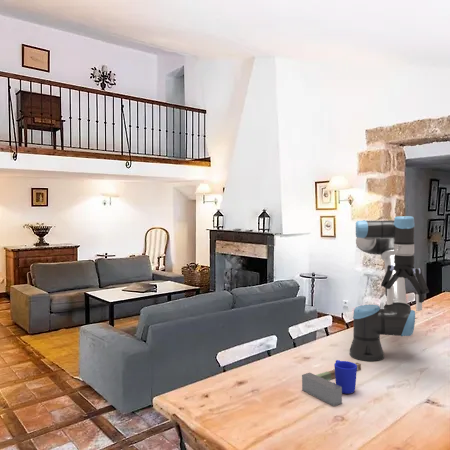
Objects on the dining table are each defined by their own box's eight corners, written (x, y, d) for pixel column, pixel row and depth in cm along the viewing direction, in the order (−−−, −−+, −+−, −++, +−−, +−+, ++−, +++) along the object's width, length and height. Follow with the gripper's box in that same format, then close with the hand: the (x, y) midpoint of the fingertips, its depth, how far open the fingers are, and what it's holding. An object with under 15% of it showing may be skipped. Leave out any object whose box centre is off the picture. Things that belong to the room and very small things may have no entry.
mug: (347, 381, 170) (347, 356, 169) (360, 394, 158) (360, 368, 157) (327, 383, 169) (327, 358, 168) (339, 396, 157) (339, 369, 156)
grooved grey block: (302, 390, 162) (302, 374, 162) (311, 387, 165) (310, 372, 164) (333, 406, 149) (333, 389, 149) (343, 403, 151) (342, 386, 151)
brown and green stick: (305, 384, 167) (305, 377, 167) (356, 368, 183) (356, 362, 183) (309, 386, 165) (309, 379, 165) (361, 369, 182) (361, 363, 181)
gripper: (372, 252, 180) (372, 302, 181) (427, 258, 159) (427, 314, 160) (383, 251, 184) (383, 300, 185) (438, 256, 163) (438, 311, 164)
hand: (403, 307), depth 172 cm, fingers open, 13 cm apart
